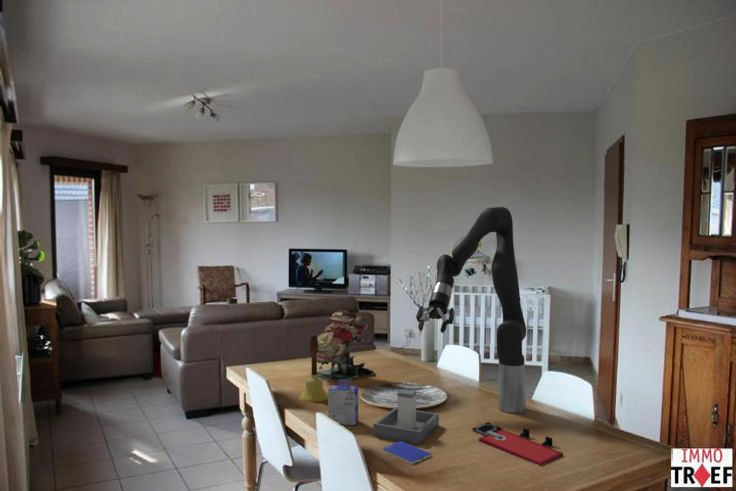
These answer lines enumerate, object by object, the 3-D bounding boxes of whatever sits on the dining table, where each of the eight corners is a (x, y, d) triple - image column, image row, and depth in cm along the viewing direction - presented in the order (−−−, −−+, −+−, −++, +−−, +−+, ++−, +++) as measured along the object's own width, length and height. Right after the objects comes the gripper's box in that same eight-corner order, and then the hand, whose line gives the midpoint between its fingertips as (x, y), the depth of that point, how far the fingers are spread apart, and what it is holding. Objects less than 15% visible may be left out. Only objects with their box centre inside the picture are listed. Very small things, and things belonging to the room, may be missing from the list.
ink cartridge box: (359, 420, 188) (358, 379, 188) (355, 425, 183) (355, 383, 182) (332, 418, 190) (331, 378, 190) (327, 424, 185) (327, 382, 184)
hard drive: (382, 447, 162) (412, 460, 153) (401, 440, 167) (431, 452, 158) (382, 452, 162) (412, 466, 153) (401, 445, 167) (431, 457, 158)
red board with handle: (491, 423, 184) (461, 435, 175) (491, 415, 184) (461, 426, 175) (570, 454, 160) (540, 469, 151) (570, 444, 160) (540, 459, 151)
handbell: (326, 391, 222) (325, 331, 221) (333, 400, 210) (332, 337, 209) (296, 394, 218) (295, 333, 217) (302, 403, 207) (301, 339, 206)
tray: (438, 425, 183) (438, 413, 182) (419, 444, 166) (419, 432, 166) (395, 418, 190) (395, 407, 190) (373, 436, 174) (373, 424, 173)
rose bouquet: (331, 364, 265) (331, 304, 264) (380, 373, 249) (380, 309, 248) (296, 376, 244) (295, 311, 243) (347, 387, 228) (346, 317, 227)
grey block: (416, 426, 179) (416, 391, 178) (411, 430, 175) (411, 394, 175) (402, 424, 181) (402, 389, 181) (397, 428, 177) (397, 392, 177)
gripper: (421, 290, 212) (410, 323, 202) (456, 291, 205) (446, 326, 196) (426, 301, 217) (415, 335, 207) (460, 303, 210) (451, 338, 201)
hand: (431, 330), depth 201 cm, fingers open, 8 cm apart
